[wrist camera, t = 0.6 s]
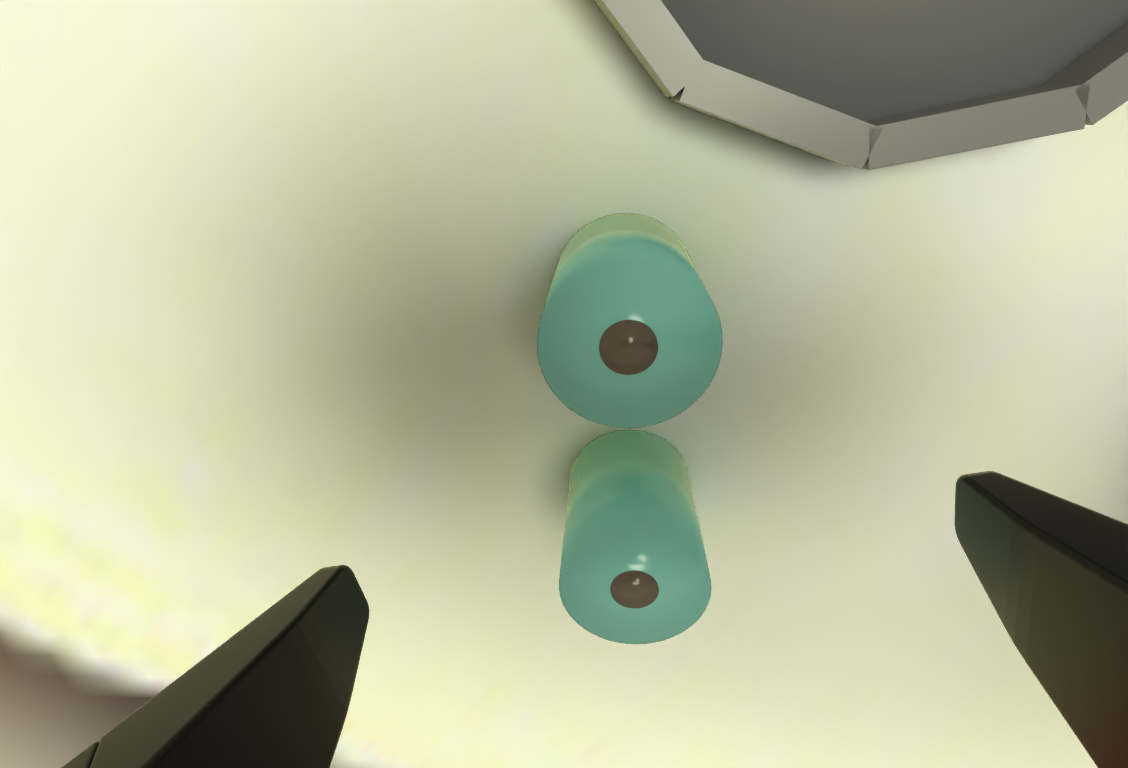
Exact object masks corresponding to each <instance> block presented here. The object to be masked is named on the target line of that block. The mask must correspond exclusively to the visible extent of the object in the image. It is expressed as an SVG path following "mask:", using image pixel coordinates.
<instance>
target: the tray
mask: <svg viewBox="0 0 1128 768" xmlns="http://www.w3.org/2000/svg"><path fill="white" fill-rule="evenodd" d="M594 1H595V3H596V4H597V5H598V7H599V8H600V9H601V11H602V12H603V13H604V15H605V16H606V18H607V19H608V20H609V22H610V23H611V24H612V26H613V27H614V28H615V30H616V31H617V32H618V34H619V35H620V36H621V38H622V39H623V40H624V42H625V43H626V44H627V46H628V47H629V48H630V50H631V51H632V53H633V54H634V55H635V57H636V58H637V59H638V61H639V62H640V63H641V65H642V66H643V67H644V69H645V70H646V71H647V73H648V74H649V75H650V77H651V78H652V79H653V81H654V82H655V83H656V85H657V86H658V88H659V89H660V90H661V92H662V93H663V94H664V96H672V97H671V101H673V102H676V103H679V104H681V105H684V106H687V107H689V108H692V109H695V110H697V111H700V112H703V113H705V114H708V115H711V116H713V117H716V118H719V119H721V120H724V121H727V122H729V123H732V124H735V125H737V126H740V127H742V128H745V129H748V130H750V131H753V132H756V133H758V134H761V135H764V136H766V137H769V138H772V139H774V140H777V141H780V142H782V143H785V144H788V145H790V146H793V147H796V148H798V149H801V150H804V151H806V152H809V153H812V154H814V155H817V156H820V157H822V158H825V159H828V160H831V161H834V162H837V163H841V164H844V165H848V166H851V167H855V168H858V169H861V170H862V168H863V169H867V170H872V169H877V168H883V167H888V166H893V165H898V164H903V163H909V162H914V161H919V160H924V159H929V158H934V157H940V156H945V155H950V154H955V153H960V152H966V151H971V150H976V149H981V148H986V147H991V146H997V145H1002V144H1007V143H1012V142H1017V141H1023V140H1028V139H1033V138H1038V137H1043V136H1048V135H1054V134H1059V133H1064V132H1069V131H1074V130H1079V129H1084V126H1085V124H1087V125H1093V124H1095V123H1096V122H1098V121H1099V120H1100V119H1102V118H1103V117H1105V116H1106V115H1108V114H1109V113H1110V112H1112V111H1113V110H1115V109H1116V108H1118V107H1119V106H1121V105H1122V104H1123V103H1125V102H1126V101H1128V0H594Z"/></svg>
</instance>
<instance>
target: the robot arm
mask: <svg viewBox="0 0 1128 768" xmlns="http://www.w3.org/2000/svg"><path fill="white" fill-rule="evenodd" d="M955 530H956V534H957V537H958V540H959V542H960V544H961V546H962V548H963V550H964V552H965V553H966V555H967V557H968V559H969V561H970V563H971V565H972V567H973V568H974V570H975V572H976V574H977V576H978V578H979V580H980V582H981V583H982V585H983V587H984V589H985V591H986V593H987V595H988V597H989V599H990V600H991V602H992V604H993V606H994V608H995V610H996V612H997V614H998V615H999V617H1000V619H1001V621H1002V623H1003V625H1004V627H1005V628H1006V630H1007V632H1008V634H1009V636H1010V637H1011V639H1012V641H1013V643H1014V644H1015V646H1016V647H1017V649H1018V650H1019V652H1020V654H1021V655H1022V657H1023V658H1024V660H1025V661H1026V663H1027V664H1028V666H1029V667H1030V669H1031V670H1032V672H1033V673H1034V675H1035V676H1036V677H1037V679H1038V680H1039V682H1040V683H1041V685H1042V686H1043V688H1044V689H1045V691H1046V692H1047V694H1048V695H1049V697H1050V698H1051V699H1052V701H1053V702H1054V704H1055V705H1056V707H1057V708H1058V710H1059V711H1060V713H1061V714H1062V716H1063V717H1064V719H1065V720H1066V721H1067V723H1068V724H1069V726H1070V727H1071V729H1072V730H1073V732H1074V733H1075V735H1076V736H1077V738H1078V739H1079V741H1080V742H1081V744H1082V745H1083V746H1084V748H1085V749H1086V751H1087V752H1088V754H1089V755H1090V757H1091V758H1092V760H1093V761H1094V763H1095V764H1096V766H1097V767H1098V768H1128V524H1126V523H1123V522H1121V521H1118V520H1115V519H1113V518H1110V517H1108V516H1105V515H1103V514H1100V513H1098V512H1095V511H1093V510H1090V509H1088V508H1085V507H1083V506H1080V505H1078V504H1075V503H1072V502H1070V501H1067V500H1065V499H1062V498H1060V497H1057V496H1055V495H1052V494H1050V493H1047V492H1045V491H1042V490H1040V489H1037V488H1035V487H1032V486H1030V485H1027V484H1024V483H1022V482H1019V481H1017V480H1014V479H1012V478H1009V477H1007V476H1004V475H1002V474H999V473H996V472H993V471H986V472H979V473H972V474H966V475H962V476H960V477H959V478H958V480H957V482H956V493H955ZM368 619H369V607H368V603H367V600H366V598H365V596H364V594H363V592H362V590H361V588H360V586H359V584H358V581H357V579H356V577H355V575H354V573H353V571H352V570H351V569H350V568H349V567H348V566H346V565H339V566H332V567H325V568H322V569H320V570H318V571H317V572H316V573H315V574H313V575H312V576H311V577H309V578H308V579H307V580H305V581H304V582H303V583H302V584H300V585H299V586H298V587H296V588H295V589H294V590H292V591H291V592H290V593H288V594H287V595H286V596H285V597H283V598H282V599H281V600H279V601H278V602H277V603H275V604H274V605H273V606H272V607H270V608H269V609H268V610H266V611H265V612H264V613H262V614H261V615H260V616H259V617H257V618H256V619H255V620H253V621H252V622H251V623H249V624H248V625H247V626H246V627H244V628H243V629H242V630H240V631H239V632H238V633H236V634H235V635H234V636H232V637H231V638H230V639H229V640H227V641H226V642H225V643H223V644H222V645H221V646H219V647H218V648H217V649H216V650H214V651H213V652H212V653H210V654H209V655H208V656H206V657H205V658H204V659H203V660H201V661H200V662H199V663H197V664H196V665H195V666H193V667H192V668H191V669H189V670H188V671H187V672H186V673H184V674H183V675H182V676H180V677H179V678H178V679H176V680H175V681H174V682H173V683H171V684H170V685H169V686H167V687H166V688H165V689H163V690H162V691H161V692H160V693H158V694H157V695H156V696H154V697H153V698H152V699H150V700H149V701H148V702H147V703H145V704H144V705H143V706H141V707H140V708H139V709H137V710H136V711H135V712H133V713H132V714H131V715H130V716H128V717H127V718H126V719H124V720H123V721H122V722H120V723H119V724H118V725H117V726H116V727H114V728H113V729H111V730H110V731H109V732H107V733H106V734H105V735H104V736H102V737H101V739H100V742H94V743H93V744H92V745H90V746H89V747H88V748H86V749H85V750H84V751H82V752H81V753H80V754H79V755H77V756H76V757H75V758H74V759H72V760H71V761H70V762H68V763H67V764H66V765H64V766H63V767H62V768H330V765H331V762H332V759H333V756H334V753H335V750H336V747H337V743H338V740H339V737H340V734H341V731H342V728H343V725H344V722H345V718H346V715H347V711H348V708H349V704H350V700H351V696H352V691H353V687H354V682H355V678H356V673H357V669H358V664H359V660H360V655H361V651H362V646H363V642H364V638H365V633H366V629H367V624H368Z"/></svg>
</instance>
